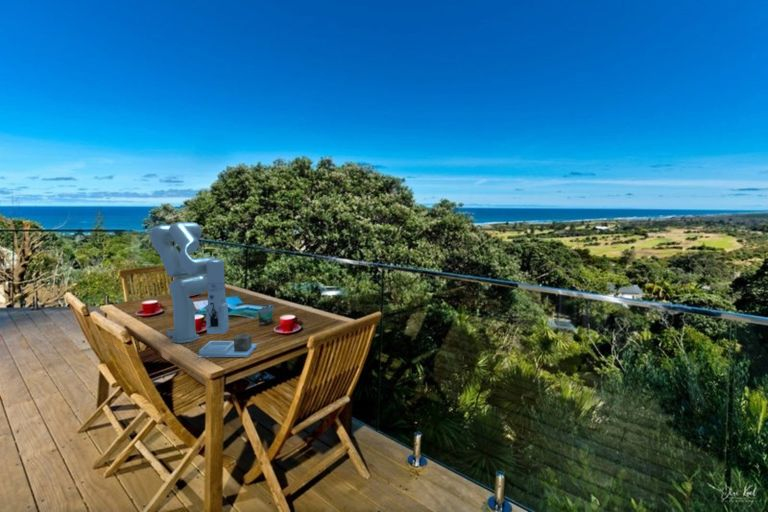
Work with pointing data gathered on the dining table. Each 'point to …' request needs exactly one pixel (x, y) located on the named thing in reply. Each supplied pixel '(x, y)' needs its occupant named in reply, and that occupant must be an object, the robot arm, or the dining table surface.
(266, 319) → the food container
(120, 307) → the dining table surface
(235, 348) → the dark gray block
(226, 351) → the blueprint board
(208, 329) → the small box
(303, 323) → the dining table surface
